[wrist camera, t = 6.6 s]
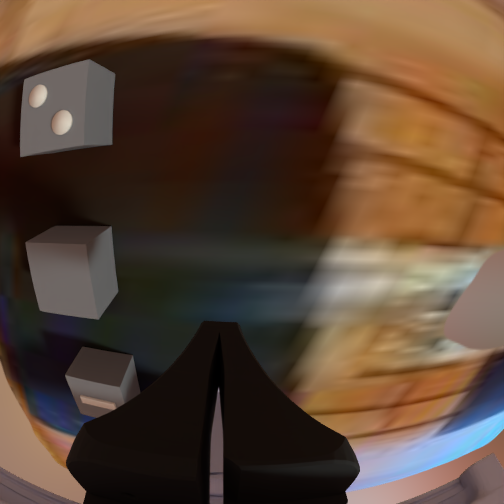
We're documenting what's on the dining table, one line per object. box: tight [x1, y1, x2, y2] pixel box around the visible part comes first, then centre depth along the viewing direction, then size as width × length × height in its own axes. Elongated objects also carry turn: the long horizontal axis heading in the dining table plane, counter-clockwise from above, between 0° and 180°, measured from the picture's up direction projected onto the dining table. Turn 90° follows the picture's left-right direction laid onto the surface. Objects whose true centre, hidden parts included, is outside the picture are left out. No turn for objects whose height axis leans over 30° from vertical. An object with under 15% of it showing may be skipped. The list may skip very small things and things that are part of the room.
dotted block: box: [20, 60, 115, 157], centre depth 14 cm, size 5×5×4 cm
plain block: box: [25, 226, 118, 319], centre depth 17 cm, size 5×5×4 cm
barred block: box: [65, 347, 140, 418], centre depth 21 cm, size 5×5×4 cm
